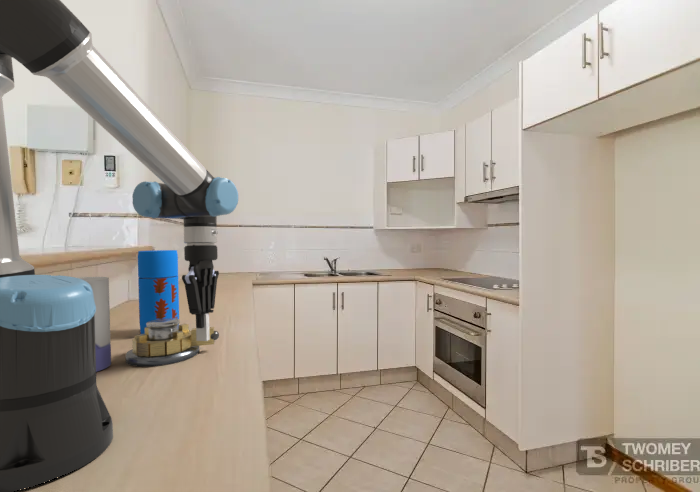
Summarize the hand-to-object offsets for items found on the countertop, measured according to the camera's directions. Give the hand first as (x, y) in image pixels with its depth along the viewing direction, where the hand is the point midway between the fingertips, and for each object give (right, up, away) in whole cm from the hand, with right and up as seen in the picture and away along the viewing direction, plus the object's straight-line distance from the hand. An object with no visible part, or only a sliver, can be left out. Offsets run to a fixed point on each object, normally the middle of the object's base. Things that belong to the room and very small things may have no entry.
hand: (203, 340), depth 89 cm
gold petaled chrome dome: (-6, -2, 0) cm, 7 cm away
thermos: (-22, -3, +22) cm, 31 cm away
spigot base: (-9, -4, 0) cm, 10 cm away
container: (-22, -4, -9) cm, 25 cm away
